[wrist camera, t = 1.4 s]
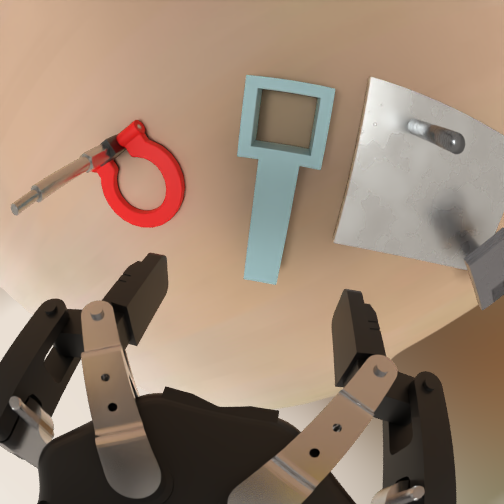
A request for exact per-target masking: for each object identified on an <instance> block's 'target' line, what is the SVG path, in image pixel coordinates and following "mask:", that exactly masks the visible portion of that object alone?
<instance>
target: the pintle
mask: <svg viewBox="0 0 504 504" xmlns="http://www.w3.org/2000/svg"><path fill="white" fill-rule="evenodd" d="M408 130H409V132H410V133H411V134H412V135H415V136H417V137H419V138H422V139H424V140H426V141H428V142H431V143H433V144H435V145H437V146H439V147H441V148H443V149H445V150H448V151H450V152H452V153H454V154H460V153H462V152H463V150H464V148H465V139H464V137H463V136H462V134H460V133H458V132H456V131H453V130H450V129H447V128H444V127H441V126H437V125H434V124H431V123H428V122H424V121H421V120H417V119H412V120H410V121H409V122H408Z"/></svg>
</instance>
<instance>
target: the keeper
mask: <svg viewBox="0 0 504 504" xmlns="http://www.w3.org/2000/svg"><path fill="white" fill-rule="evenodd" d="M463 259H464V262H465V264H466V267H467V270H468V273H469V276H470V279H471V282H472V285H473V288H474V292H475V295H476V298H477V302H478V304H479V306H480V307H481V309H482V310H484V309H485V308H487V307H488V306H489V305H491V304H492V303H493V302H495V301H496V300H497V299H499V298H500V297H501V296H502V295H504V228H502V229H500V230H499V231H498V232H497V233H496V234H494V235H493V236H492V237H491V238H489V239H488V240H487V241H486V242H484V243H483V244H482V245H480V246H479V247H478V248H477V249H475V250H474V251H473V252H471V253H470V254H469V255H467V256H466V257H465V258H463Z"/></svg>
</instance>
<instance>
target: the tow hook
mask: <svg viewBox="0 0 504 504" xmlns="http://www.w3.org/2000/svg"><path fill="white" fill-rule="evenodd" d="M144 132H145V127H144V125H143V124H142V123H141V122H140V121H138V120H135V121H134V122H132V123H131V124H130V125H129V126H128V127H126V128H125V129H124V130H123V131H122V132H121V133H119V134H117V135H115V136H112V137H110V138H108V139H106V140H104V141H103V142H102V143H101V144H100V145H99V146H97V147H95V148H93V149H91V150H89V151H87V152H85V153H83V154H82V155H81V156H80V157H79V159H77V160H75V161H73V162H72V163H70V164H68V165H66V166H64V167H63V168H61V169H59V170H58V171H56V172H54V173H52V174H51V175H49V176H48V177H46V178H44V179H43V180H41V181H39V182H38V183H36V184H35V185H33V186H32V188H31V191H30V192H28V193H27V194H25V195H24V196H22V197H21V198H20V199H18V200H17V201H15V202H14V203H13V204H12V205H11V210H12V212H13V214H14V215H18V214H20V213H21V212H22V211H24V210H25V209H26V208H27V207H29V206H30V205H32V204H33V203H34V202H41V201H42V200H44V199H45V198H46V197H48V196H49V195H51V194H52V193H53V192H55V191H56V190H58V189H59V188H61V187H62V186H64V185H65V184H67V183H68V182H70V181H71V180H73V179H74V178H76V177H78V176H79V175H81V174H82V173H84V172H87V173H88V172H90V171H92V172H97V173H98V174H99V176H100V177H101V185H102V189H103V193H104V196H105V198H106V200H107V202H108V204H109V205H110V207H111V208H112V209H113V210H114V212H115V213H116V214H117V215H119V216H120V217H121V218H122V219H123V220H125V221H127V222H129V223H131V224H132V225H136V226H140V227H156V226H160V225H163V224H164V223H166V222H167V221H169V220H170V219H171V218H172V217H173V216H174V215H175V213H176V212H177V211H178V210H179V208H180V206H181V204H182V201H183V199H184V191H185V184H184V177H183V173H182V171H181V168H180V166H179V164H178V162H177V161H176V159H175V158H174V157H173V155H172V154H171V153H170V152H169V151H168V150H167V149H165V148H164V147H163V146H162V145H160V144H158V143H155V142H153V141H151V140H149V139H148V138H147V136H146V135H145V133H144ZM125 149H127V151H128V152H129V154H130V155H131V156H132V157H140V158H145V159H147V160H149V161H151V162H152V163H153V164H154V165H156V166H157V167H158V169H159V170H160V171H161V173H162V175H163V177H164V179H165V183H166V196H165V199H164V202H163V203H162V205H161V206H159V207H158V208H156V209H153V210H145V211H144V210H140V209H137V208H135V207H133V206H131V205H130V204H129V203H128V202H126V201H125V199H124V198H123V197H122V195H121V193H120V191H119V189H118V184H117V174H118V167H117V165H116V164H115V162H114V161H113V159H114V158H116V157H117V156H118V155H119V154H120V153H122V152H123V151H124V150H125Z"/></svg>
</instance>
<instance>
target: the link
mask: <svg viewBox="0 0 504 504" xmlns="http://www.w3.org/2000/svg"><path fill="white" fill-rule="evenodd" d="M262 89H266V90H273V91H281V92H287V93H294V94H300V95H305V96H311V97H316V98H317V105H316V111H315V117H314V123H313V129H312V135H311V140H310V146H309V149H308V148H303V147H297V146H291V145H286V144H279V143H273V142H266V141H260V140H256V136H257V128H258V120H259V112H260V104H261V96H262ZM334 95H335V89H334V88H329V87H325V86H320V85H315V84H309V83H304V82H298V81H292V80H285V79H278V78H270V77H262V76H252V75H246V82H245V90H244V98H243V107H242V116H241V125H240V134H239V143H238V153H237V156H239V157H246V158H253V159H259V160H258V168H257V176H256V183H255V191H254V199H253V207H252V215H251V223H250V231H249V239H248V247H247V255H246V263H245V272H244V279H247V280H252V281H258V282H263V283H269V284H275V285H276V283H277V278H278V273H279V269H280V264H281V259H282V254H283V249H284V244H285V239H286V234H287V229H288V224H289V219H290V214H291V208H292V203H293V198H294V192H295V187H296V181H297V176H298V170H299V166H302V167H307V168H313V169H318V170H321V166H322V161H323V156H324V151H325V146H326V140H327V135H328V130H329V124H330V118H331V113H332V107H333V101H334Z"/></svg>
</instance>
